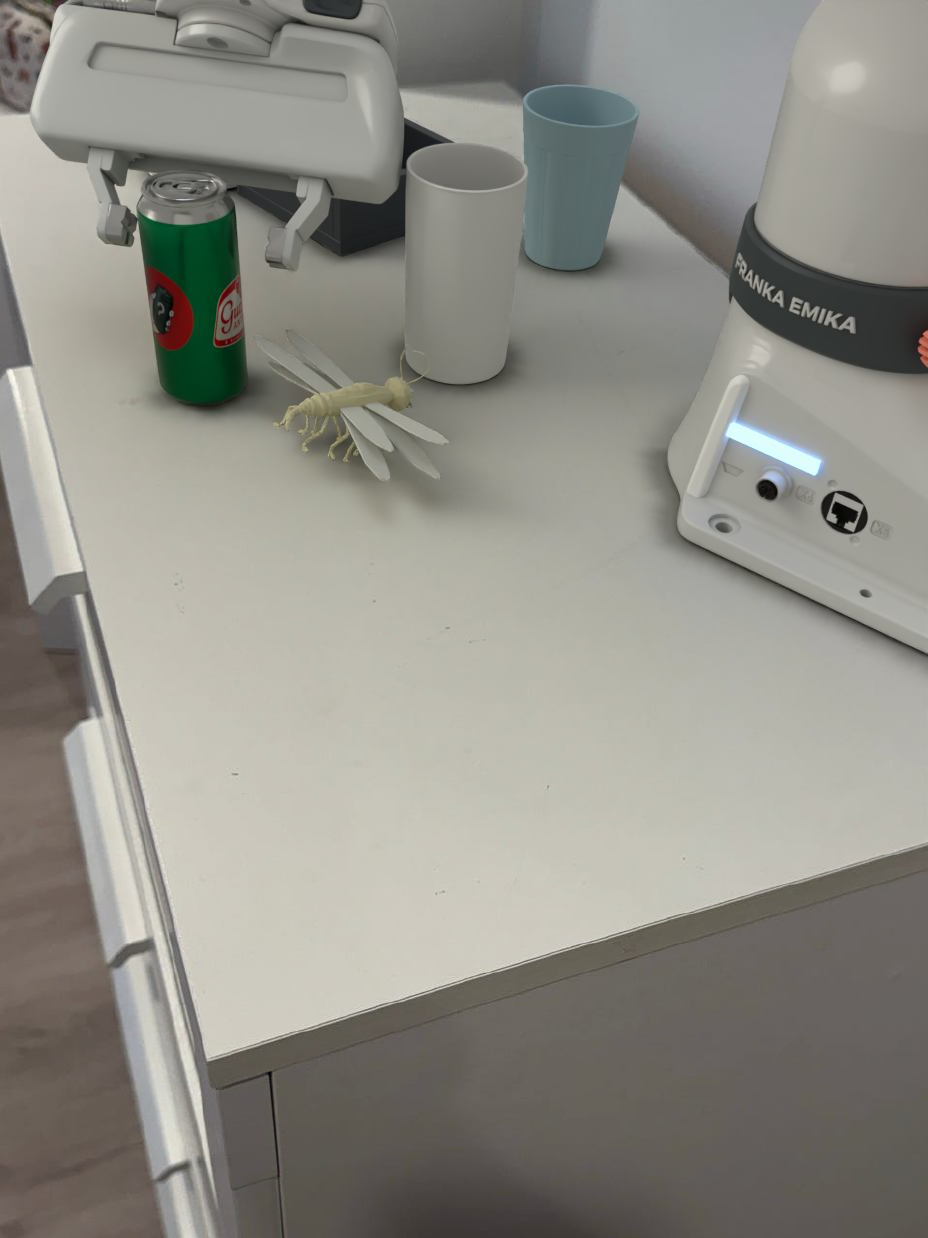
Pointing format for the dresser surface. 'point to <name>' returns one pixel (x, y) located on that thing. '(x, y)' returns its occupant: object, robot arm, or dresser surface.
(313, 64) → the robot arm
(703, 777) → the dresser surface
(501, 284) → the mug
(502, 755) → the dresser surface
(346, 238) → the bin
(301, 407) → the toy
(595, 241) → the cup
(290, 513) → the dresser surface
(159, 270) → the soda can
